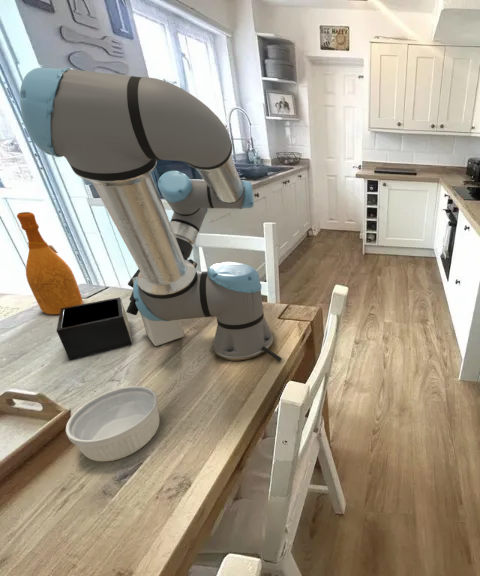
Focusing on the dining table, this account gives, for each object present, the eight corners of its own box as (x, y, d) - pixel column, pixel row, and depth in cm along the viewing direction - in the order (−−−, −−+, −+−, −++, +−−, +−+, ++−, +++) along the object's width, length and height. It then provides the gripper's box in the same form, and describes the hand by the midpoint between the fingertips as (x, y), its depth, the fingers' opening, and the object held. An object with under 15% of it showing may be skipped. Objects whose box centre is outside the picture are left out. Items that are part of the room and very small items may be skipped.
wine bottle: (90, 307, 102) (55, 212, 89) (48, 319, 95) (3, 218, 82) (77, 297, 107) (42, 206, 94) (36, 309, 99) (-8, 211, 86)
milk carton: (184, 337, 92) (169, 275, 84) (155, 347, 87) (136, 282, 79) (175, 327, 96) (160, 267, 88) (147, 336, 91) (128, 274, 83)
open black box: (132, 344, 87) (123, 316, 84) (69, 360, 80) (56, 330, 76) (129, 323, 96) (120, 297, 92) (72, 336, 89) (60, 308, 85)
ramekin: (66, 479, 54) (50, 452, 51) (92, 420, 65) (80, 394, 62) (159, 454, 59) (149, 428, 56) (169, 403, 70) (162, 379, 67)
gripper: (222, 251, 95) (198, 325, 88) (152, 243, 97) (121, 314, 90) (209, 239, 88) (180, 318, 81) (132, 230, 90) (98, 307, 82)
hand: (149, 316), depth 85 cm, fingers closed on milk carton, 10 cm apart
